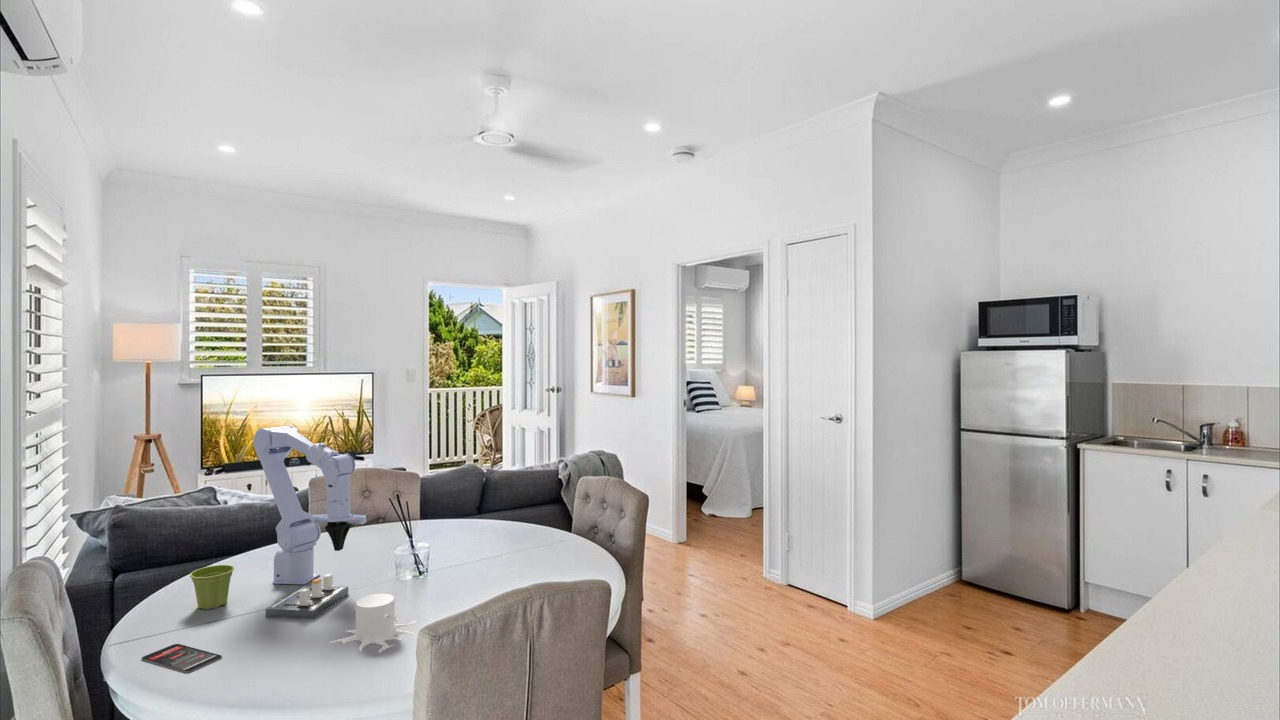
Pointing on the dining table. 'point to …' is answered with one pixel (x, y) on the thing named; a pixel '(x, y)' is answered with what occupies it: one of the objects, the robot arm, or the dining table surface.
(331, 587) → the breaker far
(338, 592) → the panel
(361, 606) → the tree stump
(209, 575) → the plant pot
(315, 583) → the breaker mid
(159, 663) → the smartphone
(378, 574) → the dining table surface
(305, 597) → the block
